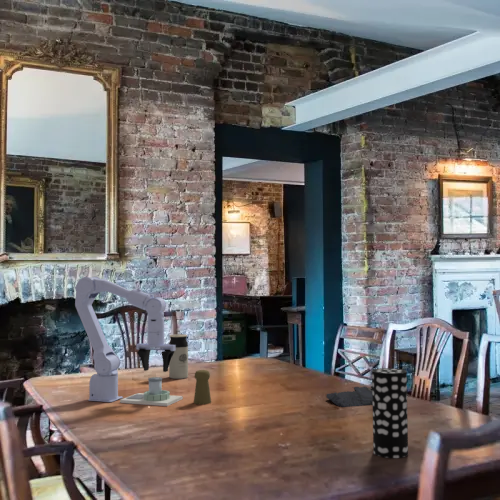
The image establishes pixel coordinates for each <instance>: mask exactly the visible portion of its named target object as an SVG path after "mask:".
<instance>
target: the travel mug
mask: <svg viewBox="0 0 500 500" xmlns="http://www.w3.org/2000/svg"><path fill="white" fill-rule="evenodd" d="M187 337H188V334H186V333H185V334H182V333H181V334H179V333H178V334H177V333H176V334H175V333H174V334H169V338H170V341H169V342H168V344H170V345H176V350H175V351H174V354H173V356H172V358H171V360H170V363H169V367H168V373H169V374H168V377H169V378H170V379H172V380H182V379H186V378H188V377H189V343H188V340H187Z"/></svg>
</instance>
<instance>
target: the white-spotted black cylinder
mask: <svg viewBox="0 0 500 500" xmlns="http://www.w3.org/2000/svg"><path fill="white" fill-rule="evenodd" d="M407 376H408V373H407V370H405V369H401V368H394V367H393V368H391V367H390V368H388V367H387V368H386V367H385V368H383V367H382V368H374V369H372V370H371V379H372V380H371V382H372V383H371V386H372V388H371V389H372V399H373V405H372V439H373V440H372V444H373V445H372V446H373V447H372V448H373V449H372V452H373V455H376V456H377V457H381V458H385V459H400V458H401V459H402V458H405V457H407V456H408V455H409V436H408V435H409V433H408V430H409V429H408V427H409V426H408V424H409V423H408V386H407V385H408V384H407V383H408V379H407V378H408V377H407Z"/></svg>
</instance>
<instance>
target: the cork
mask: <svg viewBox="0 0 500 500" xmlns="http://www.w3.org/2000/svg"><path fill="white" fill-rule="evenodd" d="M210 378H211V373H210V371H209V370H207V369H199V370H196V371H195V372H194V379H195V388H194V389H195V390H194V396H193V404H195V405H209V404H211V403H212V399H211V391H210V383H209V379H210Z"/></svg>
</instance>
